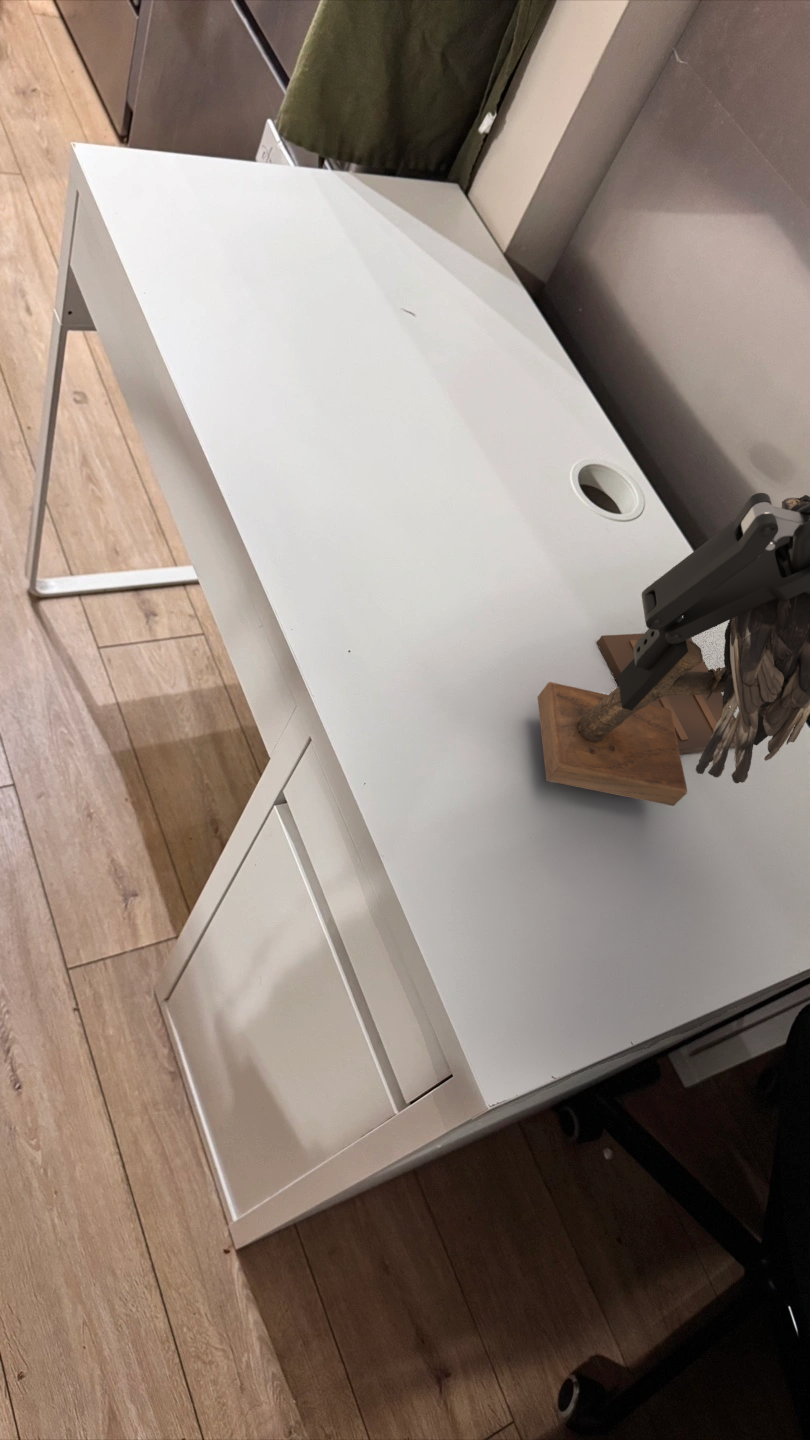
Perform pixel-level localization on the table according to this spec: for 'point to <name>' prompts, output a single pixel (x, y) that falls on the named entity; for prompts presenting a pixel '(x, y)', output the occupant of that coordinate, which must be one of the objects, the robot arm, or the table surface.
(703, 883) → the table surface
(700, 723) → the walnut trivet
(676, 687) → the bird figurine
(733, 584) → the robot arm
